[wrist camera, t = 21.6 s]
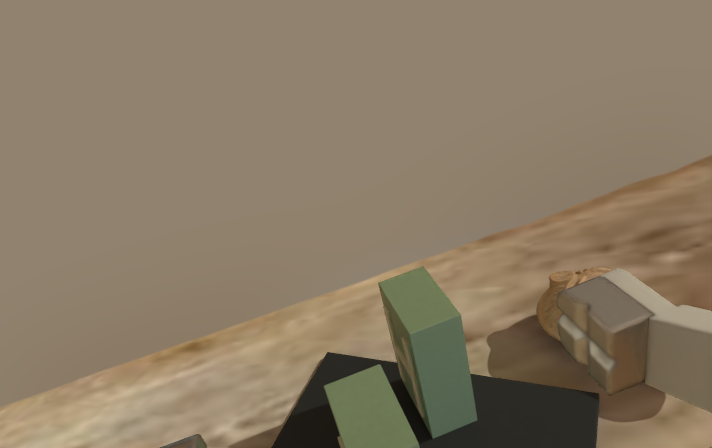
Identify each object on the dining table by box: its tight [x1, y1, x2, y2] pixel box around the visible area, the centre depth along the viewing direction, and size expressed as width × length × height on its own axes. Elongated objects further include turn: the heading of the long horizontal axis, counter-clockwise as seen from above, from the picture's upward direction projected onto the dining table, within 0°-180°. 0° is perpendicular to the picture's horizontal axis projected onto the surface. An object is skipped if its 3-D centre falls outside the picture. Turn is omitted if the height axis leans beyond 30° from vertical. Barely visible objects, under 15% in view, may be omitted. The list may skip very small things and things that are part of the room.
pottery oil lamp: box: [537, 267, 612, 342], centre depth 41 cm, size 9×12×7 cm
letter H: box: [378, 267, 477, 439], centre depth 39 cm, size 4×6×10 cm, turn 17°
